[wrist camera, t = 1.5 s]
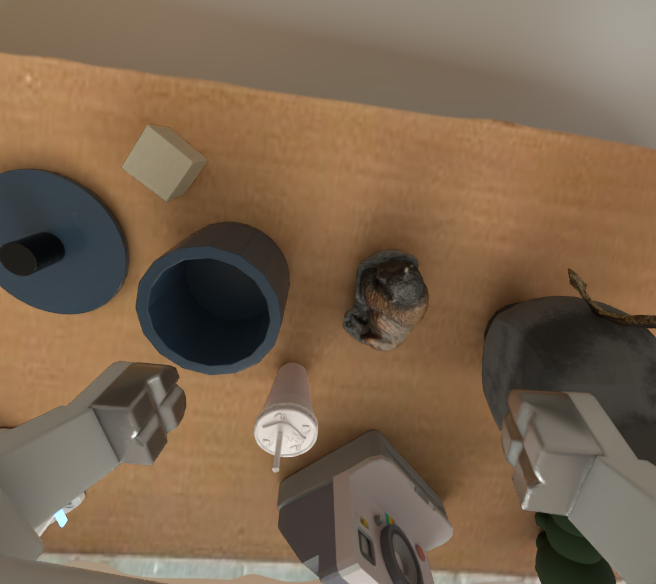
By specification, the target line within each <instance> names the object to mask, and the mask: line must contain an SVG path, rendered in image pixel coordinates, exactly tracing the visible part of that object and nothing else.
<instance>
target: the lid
mask: <svg viewBox="0 0 656 584" xmlns="http://www.w3.org/2000/svg"><path fill="white" fill-rule="evenodd" d="M128 264H129V256H128V248H127V244H126V240H125V237H124V234H123V232H122V230H121V228H120V226H119V224H118V222H117V220H116V219H115V217H114V216H113V214H112V213H111V211H110V210H109V209H108V208H107V207H106V205H105V204H104V203H103V202H102V201H101V200H100V199H99V198H98V197H97V196H96V195H94V194H93V193H92V192H91V191H89V190H88V189H87V188H85V187H84V186H82V185H81V184H79V183H77V182H75V181H74V180H72V179H70V178H68V177H65V176H63V175H60V174H57V173H54V172H50V171H46V170H39V169H18V170H11V171H7V172H3V173H0V286H1V287H2V288H3V289H5V290H6V291H7V292H8V293H10V294H11V295H13V296H14V297H16V298H17V299H19V300H21V301H22V302H24V303H26V304H28V305H31V306H33V307H35V308H38V309H41V310H44V311H48V312H53V313H59V314H79V313H85V312H89V311H92V310H94V309H97V308H99V307H101V306H102V305H104V304H106V303H107V302H108V301H110V300H111V299H112V298H113V297H114V296H115V295H116V294H117V293H118V292H119V290H120V289H121V287H122V285H123V284H124V281H125V279H126V276H127V272H128Z"/></svg>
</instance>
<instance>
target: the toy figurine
mask: <svg viewBox="0 0 656 584" xmlns="http://www.w3.org/2000/svg"><path fill="white" fill-rule="evenodd" d="M568 517H569V516H563V515H556V514H550V513H543V512H537V513H536V515H535V519H536V523H537V525H538V526H539V527H540V528H541V529H543V530H544V531H546V533H542V534H540V535H539V536H538V538H537V539H536V546H537V548H538V551H537V554H536V565H535V569H536V572H537V573H538V577H539V579H540V582H541V584H616V580H615V576H614V573H613V571H612V569H611V567H610V565H609V563H608V562H607V561H606V560H605V559H604V558H603V557H602V555H601V554H600V553H599V552H598V551H597V550H596V549H595V548H594V547H593V545H592V544H591V543H590V542H589V541H588V540H587V539H586V538H585V537H584V536H583V534H582V533H581V532H580V531H579V530H578V529H577V528H576V527H575V526H574V524H573V523H572V522H571V521H570V520H569V519H568Z"/></svg>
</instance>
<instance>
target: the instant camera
mask: <svg viewBox="0 0 656 584" xmlns="http://www.w3.org/2000/svg"><path fill="white" fill-rule="evenodd" d="M277 507H278V510H279V522H278V528H279V530H280V532H281V533H282V535H283V536H284V537H285V539H286V540H287V542H288V543H289V545H290V546H291V548H292V549H293V551H294V552H295V554H296V555H297V556H298V558H299V559H300V561H301V562H302V563H303V564H304V565H305V566H306V567H308V568H309V569H310V570H311V571H312V572H314V573H315V574H316V575H317V576H318V577H319V579H320V581H321V582H322V583H323V584H434V581H433V577H432V573H431V570H430V566H429V562H428V558H427V554H426V552H427V551H429V550H431V549H433V548H435V547H437V546H439V545H442V544H444V543H446V542H447V541H448V540H449V539H450V538H451V537H452V536H453V529H452V525H451V523H450V522H449V520H448V517H447V514H446V511H445V508H444V506H443V503H442V501H441V499H440V497H439V496H438V495H437V494H436V493H435V492H434V491H433V490H432V489H431V487H430V486H429V485H428V484H427V483H426V482H425V481H424V480H423V479H422V478H421V476H420V475H419V474H418V473H417V472H416V471H415V470H414V469H413V468H412V467H411V466H410V464H409V463H408V462H407V461H406V460H405V459H404V458H403V457H402V456H401V455H400V453H399V452H398V451H397V450H396V449H395V448H394V447H393V446H392V445H391V444H390V442H389V441H388V440H387V439H386V438H385V437H384V436H383V435H382V434H381V433H380V432H379V431H377V430H373V431H368V432H366V433H365V434H363V435H361V436H359V437H358V438H356V439H354V440H353V441H351V442H349V443H347V444H346V445H344V446H342V447H340V448H339V449H337V450H335V451H333V452H332V453H330V454H328V455H326V456H325V457H323V458H321V459H319V460H318V461H316V462H314V463H312V464H311V465H309V466H307V467H306V468H304V469H302V470H300V471H299V472H297V473H295V474H293V475H292V476H290V477H288V478H286V479H285V480H284V481H283V482H282V483H281V484H280V486H279V495H278V504H277Z"/></svg>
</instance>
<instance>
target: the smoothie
mask: <svg viewBox="0 0 656 584" xmlns="http://www.w3.org/2000/svg"><path fill="white" fill-rule="evenodd" d="M317 432H318V422H317V419H316V417H315V416H314V414H313V408H312V401H311V395H310V388H309V381H308V375H307V371H306V369H305V368H304V367H303V366H302V365H300V364H298V363H287V364H284V365H283V366H281V367H280V369H279V371H278V373H277V376H276V378H275V381H274V383H273V386H272V388H271V391H270V393H269V396H268V398H267V401H266V404H265V406H264V408H263V410H262V411H261V412H260V414H259V415H258V417H257V418H256V422H255V428H254V436H255V439H256V442H257V443H258V445H259V446H260V447H261V448H262V449H263V450H265V451H266V452H268V453H270V454H272V455H274V462H273V469H272V471H273V472H278V471H279V464H280V457H293V456H298V455H300V454H303V453H305V452H306V451H308V450H309V449H310V448H311V447H312V446H313V445H314V444H315V442H316V439H317V434H318V433H317Z"/></svg>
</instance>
